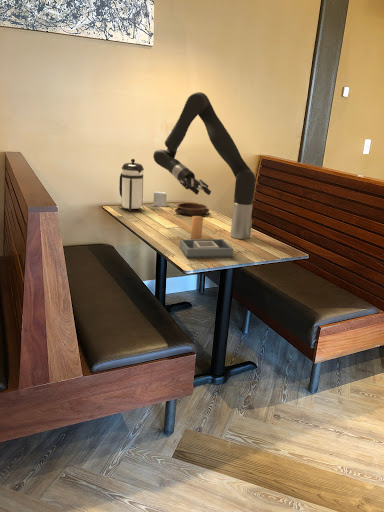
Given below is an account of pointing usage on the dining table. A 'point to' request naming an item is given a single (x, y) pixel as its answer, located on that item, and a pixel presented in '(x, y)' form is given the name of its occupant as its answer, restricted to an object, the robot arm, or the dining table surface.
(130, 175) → the coffee press
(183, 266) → the dining table surface
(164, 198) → the medicine box
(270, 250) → the dining table surface
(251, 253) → the dining table surface
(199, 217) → the rounded orange object
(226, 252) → the walled box
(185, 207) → the dish
